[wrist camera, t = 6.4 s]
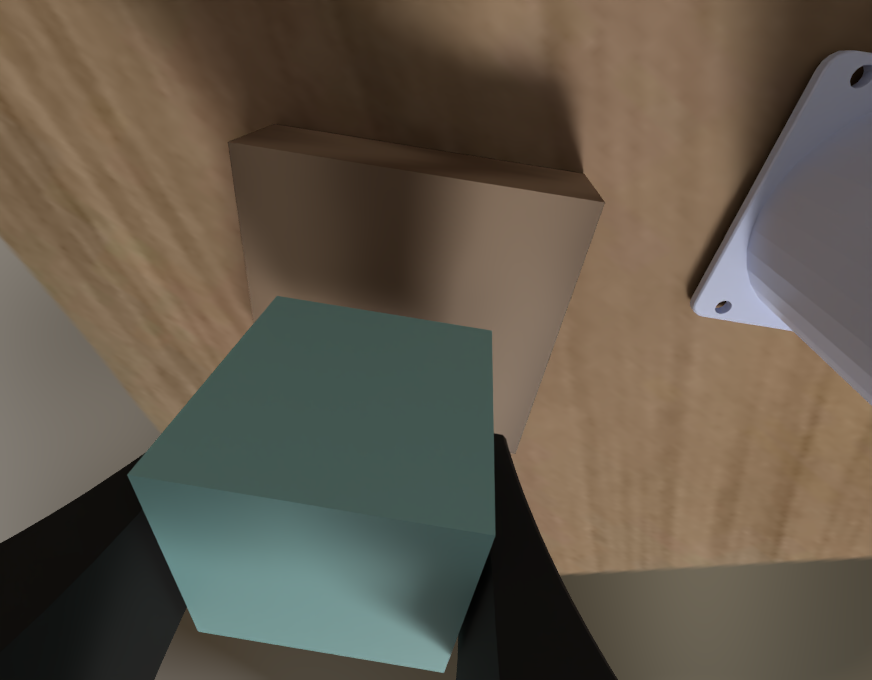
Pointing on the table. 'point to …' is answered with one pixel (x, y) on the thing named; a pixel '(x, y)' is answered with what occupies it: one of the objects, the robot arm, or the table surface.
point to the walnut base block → (418, 241)
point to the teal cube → (332, 484)
